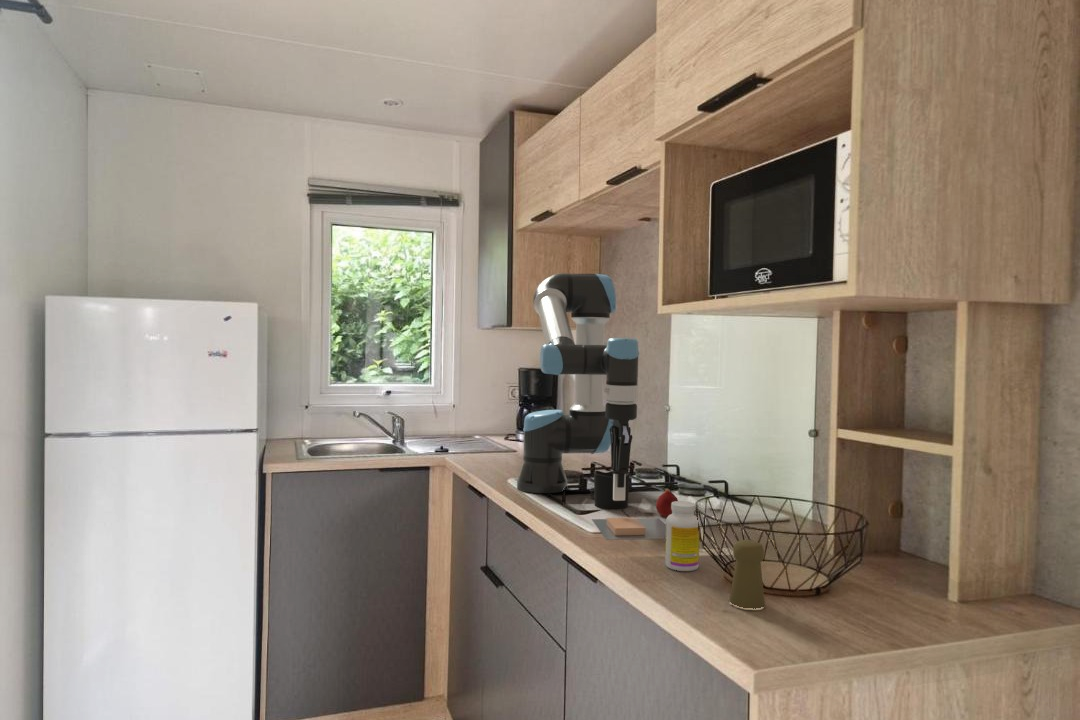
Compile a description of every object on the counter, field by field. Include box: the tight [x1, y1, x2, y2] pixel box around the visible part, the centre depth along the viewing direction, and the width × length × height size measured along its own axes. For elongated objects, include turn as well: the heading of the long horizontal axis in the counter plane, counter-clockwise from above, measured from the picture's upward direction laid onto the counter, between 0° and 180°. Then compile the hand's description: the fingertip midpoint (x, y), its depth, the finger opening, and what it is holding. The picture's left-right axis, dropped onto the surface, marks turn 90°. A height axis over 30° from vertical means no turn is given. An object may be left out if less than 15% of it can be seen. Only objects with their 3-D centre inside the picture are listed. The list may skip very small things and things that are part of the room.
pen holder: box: [593, 470, 631, 511], centre depth 186 cm, size 9×9×10 cm
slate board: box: [591, 517, 666, 541], centre depth 164 cm, size 17×17×1 cm
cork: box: [729, 539, 766, 609], centre depth 121 cm, size 6×6×11 cm
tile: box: [605, 517, 646, 536], centre depth 162 cm, size 2×7×9 cm
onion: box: [655, 488, 679, 518], centre depth 176 cm, size 6×6×8 cm
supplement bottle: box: [664, 500, 701, 572], centre depth 140 cm, size 7×7×13 cm
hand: (618, 499), depth 169 cm, fingers closed
